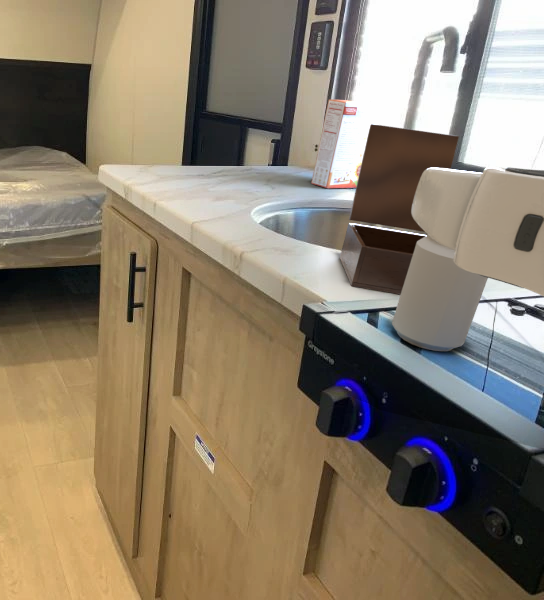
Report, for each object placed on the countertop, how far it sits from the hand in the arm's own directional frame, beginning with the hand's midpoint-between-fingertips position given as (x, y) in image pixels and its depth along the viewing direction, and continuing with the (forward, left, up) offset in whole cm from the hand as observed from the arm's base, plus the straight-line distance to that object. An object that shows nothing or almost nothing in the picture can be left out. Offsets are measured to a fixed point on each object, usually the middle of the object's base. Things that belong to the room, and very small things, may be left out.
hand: (528, 199), depth 48 cm
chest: (0, -33, -18) cm, 38 cm away
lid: (0, -41, -5) cm, 41 cm away
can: (0, -12, -18) cm, 22 cm away
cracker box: (-1, -108, -18) cm, 110 cm away
